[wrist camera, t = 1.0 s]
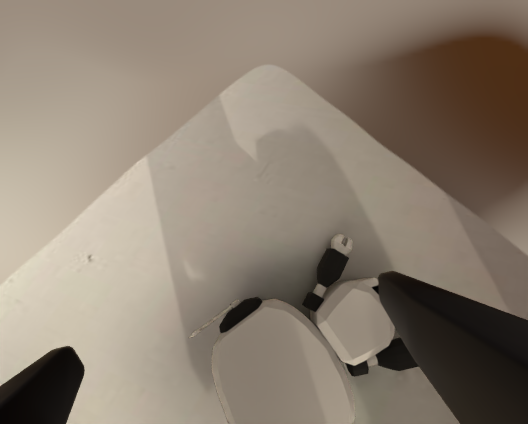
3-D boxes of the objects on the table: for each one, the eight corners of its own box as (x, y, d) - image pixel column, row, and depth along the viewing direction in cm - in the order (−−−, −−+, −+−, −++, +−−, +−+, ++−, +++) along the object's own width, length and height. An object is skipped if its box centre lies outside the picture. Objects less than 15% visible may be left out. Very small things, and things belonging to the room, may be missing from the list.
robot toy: (330, 230, 23) (194, 329, 20) (348, 218, 19) (178, 342, 16) (421, 347, 21) (279, 478, 18) (465, 363, 16) (288, 541, 14)
